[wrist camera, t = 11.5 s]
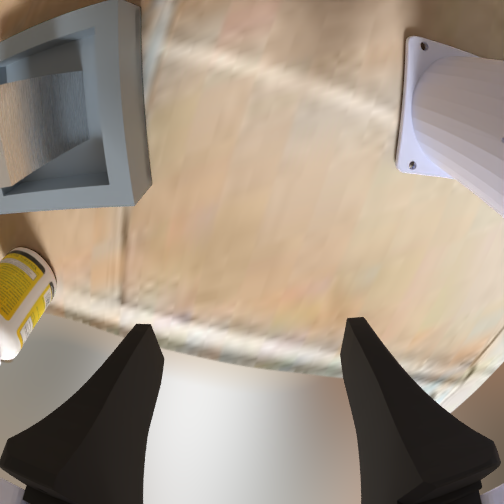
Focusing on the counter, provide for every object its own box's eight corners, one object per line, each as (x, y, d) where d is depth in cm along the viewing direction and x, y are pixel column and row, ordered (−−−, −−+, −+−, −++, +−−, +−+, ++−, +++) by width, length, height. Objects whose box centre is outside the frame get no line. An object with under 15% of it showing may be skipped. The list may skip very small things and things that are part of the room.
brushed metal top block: (83, 70, 13) (-6, 86, 7) (89, 138, 15) (11, 186, 9) (29, 86, 13) (-57, 112, 7) (37, 148, 15) (-41, 195, 9)
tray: (140, 7, 12) (118, -3, 9) (152, 184, 17) (134, 205, 15) (1, 54, 12) (-29, 58, 10) (22, 195, 18) (-3, 214, 15)
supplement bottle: (0, 248, 20) (-67, 326, 12) (41, 241, 20) (-35, 332, 11) (26, 299, 23) (-26, 380, 15) (68, 297, 23) (15, 393, 14)
